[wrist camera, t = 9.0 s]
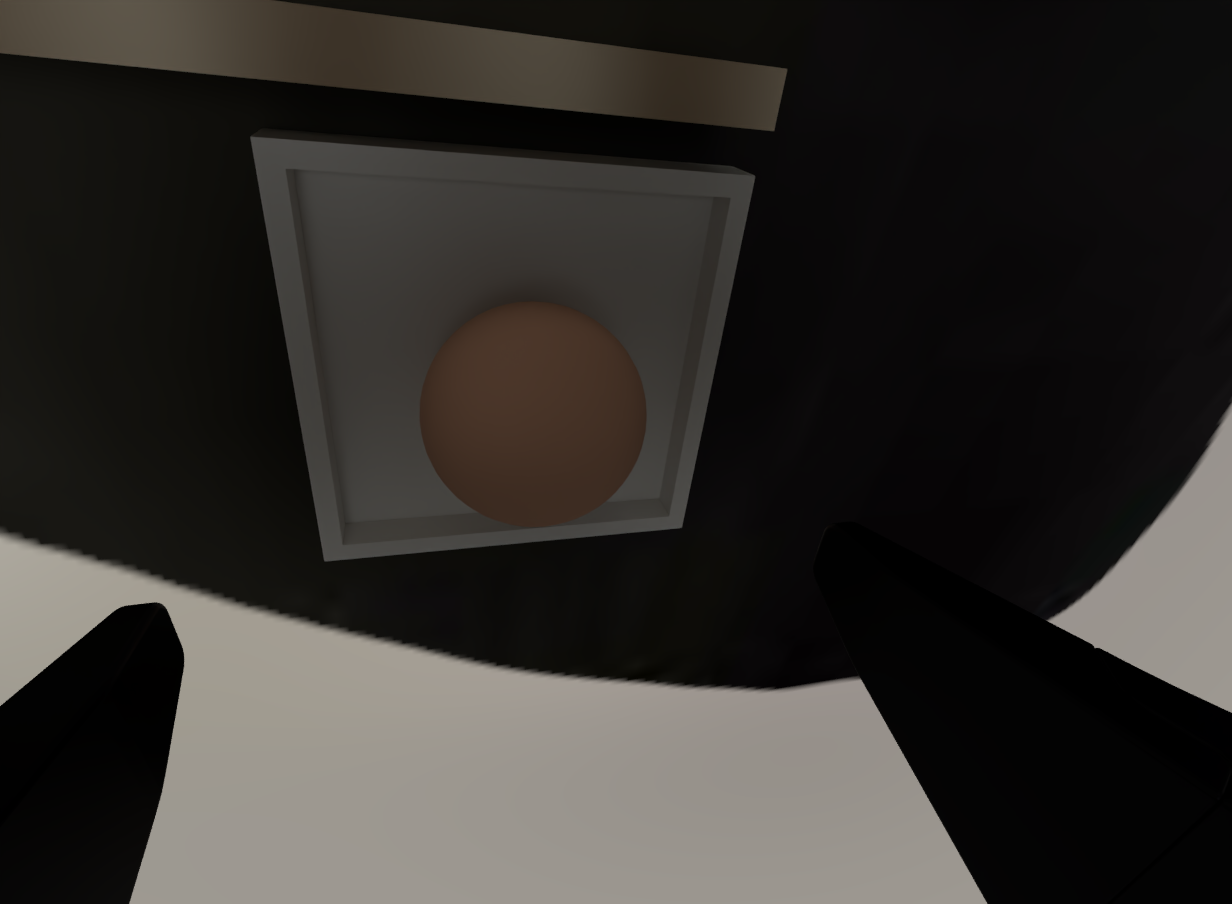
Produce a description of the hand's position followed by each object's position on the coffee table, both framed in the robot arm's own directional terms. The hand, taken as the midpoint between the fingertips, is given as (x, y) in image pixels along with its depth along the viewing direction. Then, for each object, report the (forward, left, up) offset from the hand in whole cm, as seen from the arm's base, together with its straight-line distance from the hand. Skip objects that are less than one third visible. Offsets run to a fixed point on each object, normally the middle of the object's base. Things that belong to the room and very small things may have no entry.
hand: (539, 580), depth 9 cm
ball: (-1, +2, -12) cm, 12 cm away
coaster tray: (-1, +2, -12) cm, 12 cm away
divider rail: (+3, -6, -12) cm, 13 cm away
